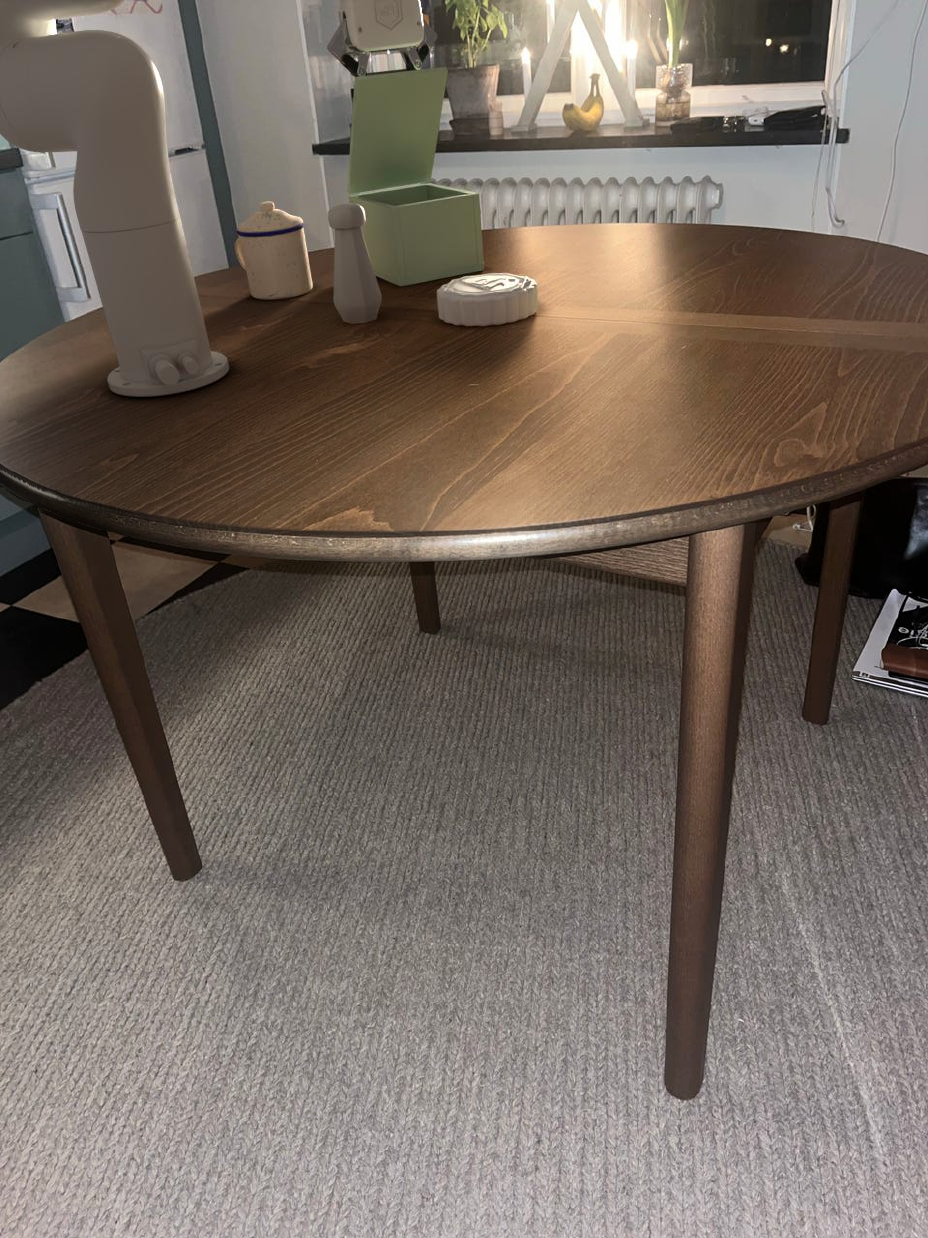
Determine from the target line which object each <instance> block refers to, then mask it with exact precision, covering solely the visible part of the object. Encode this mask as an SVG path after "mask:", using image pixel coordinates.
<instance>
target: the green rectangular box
mask: <svg viewBox="0 0 928 1238" xmlns="http://www.w3.org/2000/svg"><path fill="white" fill-rule="evenodd" d="M480 199H481V198H480V193H479V192H475V191H474V192H473V191H469V190H464V189H461V188H460V189H459V188H455V187H451V186H450V187H449V186H445V185H441V184H435V183H431V182H427V183H421V184H414V185H408V186H402V187H396V188H389V189H383V190H377V191H370V192H364V193H358V194H351V195H348V201H349V203H353V204H359V205H360V206H362V207H363V209H364V212H365V219H366V221H365V224H364V225H363V226H361V227H360V228H361V231H362V234H363V237H364V241H365V244H366V247H367V250H368V254H369V257H370V260H371V263H372V266H373V270H374V273H375V276H376V278H377V277H378V278H380V279H382V280H384V281H387V282H389V283H391V284H393V285H396V286H398V287H406V286H410V285H417V284H420V283H426V282H430V281H435V280H436V281H437V280H442V279H446V278H451V277H452V278H453V277H456V276H461V275H466V274H472V273H475V272H476V273H477V272H481V271H485V259H484V247H483V231H482V230H483V229H482V215H481V200H480ZM349 203H348V204H349Z"/></svg>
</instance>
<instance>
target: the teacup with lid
mask: <svg viewBox="0 0 928 1238" xmlns="http://www.w3.org/2000/svg"><path fill="white" fill-rule="evenodd" d="M275 207H276V206H275V203H274V202H273V201H271V200H269V201H268V200H267V201H262V202H259V204H258V208H259V210H258V211H256V212H254V213H253V214H252V215H251V216H250V217H249V218H248V219H247V220H245V221H243V222H240V223H239V224H238V225H237V227H236V234H237V236H238V237H237V238H236V240H235V242H234V251H235V255H236V258H237V260H238V263H239V264H240V266H241V267H242V268H243V270H244V271H246V277H247V281H248V282H247V283H248V287H249V292H250V295H251V296H252V298H254V299H257V300H264V301H265V300H266V301H269V300H271V301H273V300H274V301H275V300H284V299H290V298H291V299H292V298H295V297H298V296H302V295H305V294H307V293H309V292H310V291H311V290H312V289H313V287H314V285H313V280H312V272H311V267H310V261H309V253H308V249H307V241H306V236H305V230H304V228H305V225H306V224H305V222H304V220H303V219H302V217H300V216H298V215H291V214H289V213H288V212H286V211H284V210H282V209H278V208H275Z"/></svg>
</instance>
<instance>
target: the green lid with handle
mask: <svg viewBox="0 0 928 1238" xmlns="http://www.w3.org/2000/svg"><path fill="white" fill-rule="evenodd" d="M448 73H449V69H448V68H447V67H446V66H441V67H440V66H439V67H433V68H424V69H419V70H414V71H407V69H406V68H401V69H392V70H382V71H373V72H367V76H360V77H354V82H353V83H354V84H353V98H352V99H353V101H352V114H351V130H350V140H349V141H350V142H349V143H350V144H349V157H348V158H349V159H348V173H347V185H346V191H347V193H348V195H355V194H361V193H368V192H374V191H380V190H387V189H393V188H399V187H406V186H412V185H418V184H425V183H431V181H432V176H433V170H434V169H433V168H434V163H435V156H436V150H437V143H438V137H439V131H440V124H441V117H442V111H443V105H444V98H445V91H446V85H447V78H448Z"/></svg>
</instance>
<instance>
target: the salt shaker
mask: <svg viewBox="0 0 928 1238" xmlns="http://www.w3.org/2000/svg"><path fill="white" fill-rule="evenodd" d="M365 221H366V219H365V212H364V209H363V207H362V206H360V205H359V204H353V203H341V204H337V205H333V206H332V207H330V208H329V210H328V211H327V223H328V225H329V227H330V228H331V229H333V230H334V255H333V257H334V260H333V261H334V262H333V297H332V298H333V306H334V307H335V309H336V310H337V313H338V314H339V316H340V317H341V319H342V321H343V322H344V323H347V324H351V325H352V324H353V325H355V324H365V323H369V322H372V321H375V320H377V318H378V315H379V310H380V306H381V303H382V296H383V295H382V293H381V289H380V286H379V282H378V280H377V276H375V273H374V270H373V266H372V263H371V260H370V257H369V254H368V250H367V247H366V244H365V241H364V237H363V234H362V231H361V228H360V227H361V226H363V225H364V224H365Z"/></svg>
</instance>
